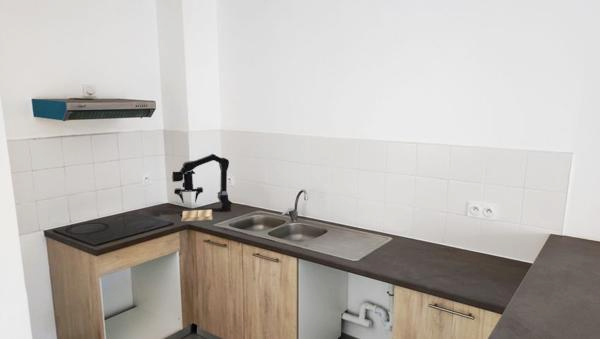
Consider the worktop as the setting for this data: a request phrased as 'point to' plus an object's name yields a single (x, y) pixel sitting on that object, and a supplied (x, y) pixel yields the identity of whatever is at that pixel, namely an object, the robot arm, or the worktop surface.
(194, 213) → the plank
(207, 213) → the plank
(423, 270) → the worktop surface
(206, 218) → the floor strip
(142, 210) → the worktop surface
